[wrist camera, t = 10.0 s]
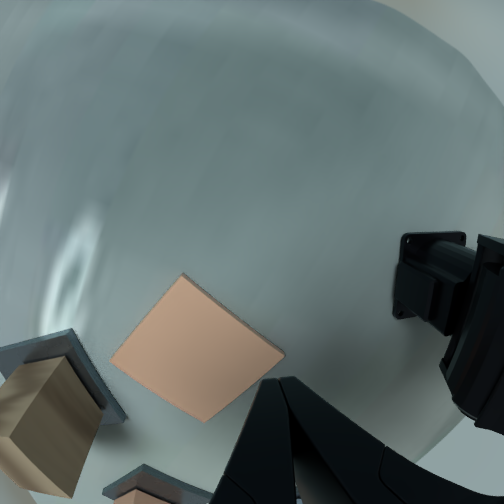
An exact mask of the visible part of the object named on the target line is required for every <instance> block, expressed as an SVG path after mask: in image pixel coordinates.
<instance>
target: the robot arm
mask: <svg viewBox="0 0 504 504" xmlns="http://www.w3.org/2000/svg"><path fill="white" fill-rule="evenodd" d="M460 237H461V239H460ZM408 238H410V241H409V242H408V243H407V239H408ZM477 243H478V247H477V251H474V250H472V249H469V248H467V247H465V245H466V234H465V233H464V232H461V231H445V232H415V233H405V234H404V235H403V236H402V239H401V250H400V261H399V265H398V272H397V281H396V289H395V302H394V309H393V315H394V317H396V318H397V319H405V318H410V317H415V316H418V317H419V318H420V319H422V320H423V321H424V322H428V323H429V324H431V325H432V326H433V327H434V328H436V329H437V330H438V331H439V332H440V333H442V334H443V335H444V336H449V335H450V336H451V337H452V338H451V340H450V343H449V345H448V348H447V351H446V353H445V356H444V358H442V359H441V362H440V364H439V367H440V369H441V372H442V374H443V376H444V378H445V380H446V383H447V385H448V387H449V389H450V392H451V394H452V400H453V402H454V404H455V405H456V406H457V407H458V409H459V410H460V411H461V412H462V413H463V414H464V415H466V416H467V417H469V418H470V419H472V420H474V421H475V423H474V425H475V427H478V428H483V429H488V430H492V431H494V432H497V433H499V434H502V435H504V239H501V238H496V237H491V236H487V235H482V234H478V239H477ZM399 311H401V312H400V313H399ZM398 313H399V314H398ZM223 474H224V475H222V477H221V479H220V481H219V484H218V486H217V488H216V490H215V492H214V494H213V496H212V498H211V500H210V502H209V504H297V499H296V486H297V489H298V491H299V494H300V497H301V500H302V503H303V504H504V496H489V495H484V494H480V493H477V492H474V491H472V490H469V489H467V488H464V487H462V486H460V485H457V484H455V483H453V482H451V481H448V480H446V479H444V478H442V477H439V476H437V475H435V474H433V473H431V472H429V471H427V470H425V469H423V468H421V467H419V466H418V465H416V464H414V463H412V462H411V461H409V460H408V459H406V458H404V457H403V456H401V455H400V454H398V453H397V452H395V451H394V450H392V449H391V448H389V447H388V446H386V447H385V444H383V443H382V442H381V441H379V440H378V439H376V438H375V437H373V436H372V435H371V434H369V433H368V432H367V431H365V430H364V429H362V428H361V427H360V426H358V425H357V424H356V423H354V422H353V421H352V420H350V419H349V418H348V417H346V416H345V415H344V414H342V413H341V412H340V411H338V410H337V409H336V408H334V407H333V406H332V405H330V404H329V403H328V402H327V401H325V400H324V399H323V398H321V397H320V396H319V395H318V394H316V393H315V392H314V391H312V390H311V389H310V388H309V387H307V386H306V385H305V384H304V383H302V382H301V381H300V380H299V379H298V378H296V377H295V376H288V377H280V378H279V379H277V378H270V379H263V380H261V382H260V385H259V387H258V390H257V392H256V395H255V398H254V400H253V403H252V405H251V408H250V410H249V413H248V415H247V418H246V420H245V423H244V425H243V428H242V430H241V433H240V435H239V437H238V440H237V442H236V445H235V447H234V449H233V452H232V454H231V457H230V459H229V461H228V464H227V466H226V468H225V471H224V473H223ZM295 483H296V486H295Z"/></svg>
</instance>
